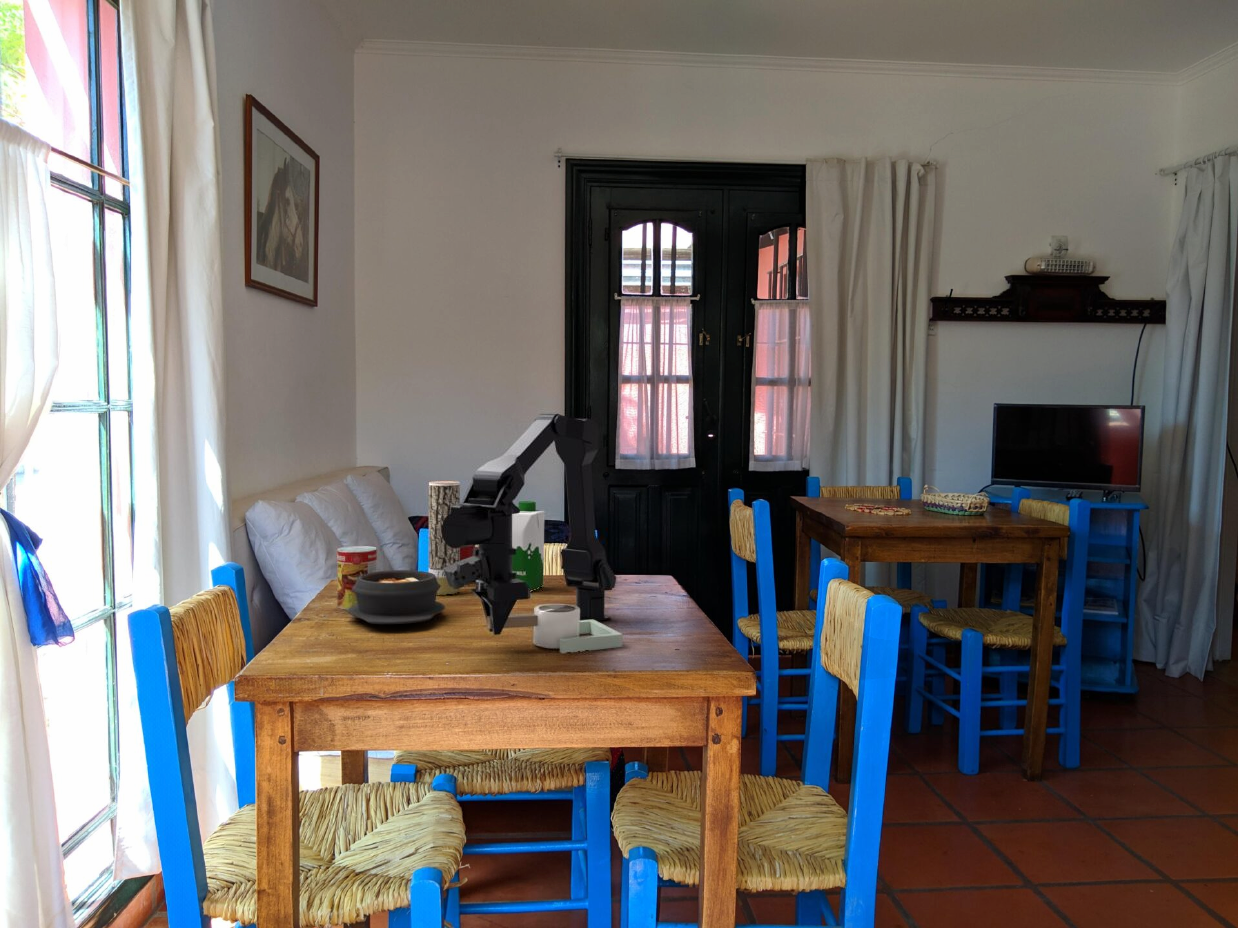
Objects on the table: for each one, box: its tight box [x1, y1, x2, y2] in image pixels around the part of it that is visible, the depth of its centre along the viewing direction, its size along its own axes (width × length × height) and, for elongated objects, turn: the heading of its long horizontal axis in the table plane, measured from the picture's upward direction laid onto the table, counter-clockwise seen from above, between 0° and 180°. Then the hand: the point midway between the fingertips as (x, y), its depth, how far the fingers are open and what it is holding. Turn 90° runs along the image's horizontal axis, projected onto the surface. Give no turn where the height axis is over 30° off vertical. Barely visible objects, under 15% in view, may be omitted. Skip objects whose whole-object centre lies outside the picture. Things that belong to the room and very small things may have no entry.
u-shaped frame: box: [559, 619, 623, 654], centre depth 158 cm, size 12×11×2 cm
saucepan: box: [486, 603, 580, 649], centre depth 154 cm, size 16×8×6 cm, turn 113°
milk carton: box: [512, 500, 546, 591], centre depth 206 cm, size 9×9×20 cm
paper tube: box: [428, 480, 461, 596], centre depth 200 cm, size 7×7×25 cm
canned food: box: [336, 545, 378, 611], centre depth 186 cm, size 8×8×12 cm
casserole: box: [347, 569, 446, 625], centre depth 175 cm, size 25×19×8 cm
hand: (494, 632), depth 152 cm, fingers closed on saucepan, 2 cm apart
